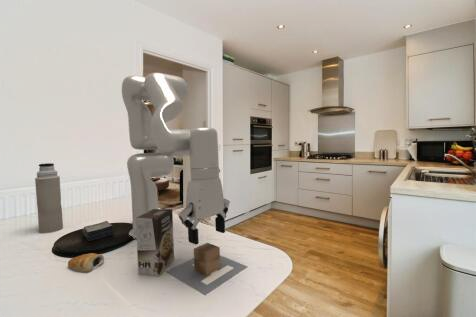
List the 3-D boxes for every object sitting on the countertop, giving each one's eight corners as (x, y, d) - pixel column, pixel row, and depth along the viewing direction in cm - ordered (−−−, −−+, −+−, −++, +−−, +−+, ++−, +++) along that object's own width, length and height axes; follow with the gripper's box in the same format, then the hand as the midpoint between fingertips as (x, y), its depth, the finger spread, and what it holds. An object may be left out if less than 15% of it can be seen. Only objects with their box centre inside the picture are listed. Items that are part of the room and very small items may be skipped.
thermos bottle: (58, 225, 106) (53, 162, 104) (66, 228, 102) (62, 163, 100) (35, 231, 99) (30, 164, 97) (43, 234, 95) (38, 164, 93)
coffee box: (159, 279, 62) (156, 218, 61) (137, 276, 64) (134, 217, 62) (175, 261, 71) (173, 208, 70) (155, 260, 72) (153, 207, 71)
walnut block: (194, 269, 65) (193, 248, 65) (207, 262, 69) (207, 242, 69) (206, 276, 62) (206, 253, 62) (220, 268, 66) (219, 247, 66)
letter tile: (165, 273, 65) (165, 271, 65) (209, 252, 77) (208, 250, 77) (205, 297, 54) (205, 295, 54) (248, 268, 67) (248, 266, 67)
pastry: (60, 271, 67) (60, 258, 67) (80, 260, 74) (80, 248, 74) (89, 274, 66) (88, 260, 65) (107, 262, 72) (106, 250, 72)
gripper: (218, 170, 73) (220, 225, 74) (168, 177, 60) (172, 244, 60) (236, 171, 68) (238, 230, 69) (187, 179, 55) (191, 252, 56)
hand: (207, 237), depth 65 cm, fingers open, 9 cm apart
